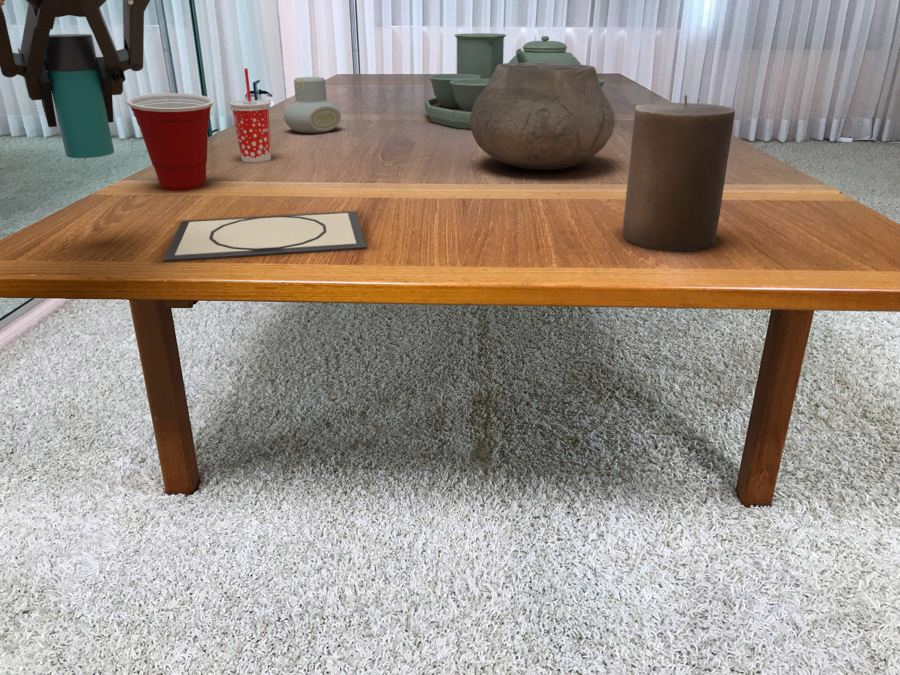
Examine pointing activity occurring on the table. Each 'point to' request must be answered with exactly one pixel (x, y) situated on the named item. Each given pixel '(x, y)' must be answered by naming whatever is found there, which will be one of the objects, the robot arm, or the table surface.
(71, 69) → the dot marker
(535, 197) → the table surface
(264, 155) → the beverage cup
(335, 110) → the air freshener
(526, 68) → the clay pot
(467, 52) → the tea set
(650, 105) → the pillar candle
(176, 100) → the plastic cup
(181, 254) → the drawing board
